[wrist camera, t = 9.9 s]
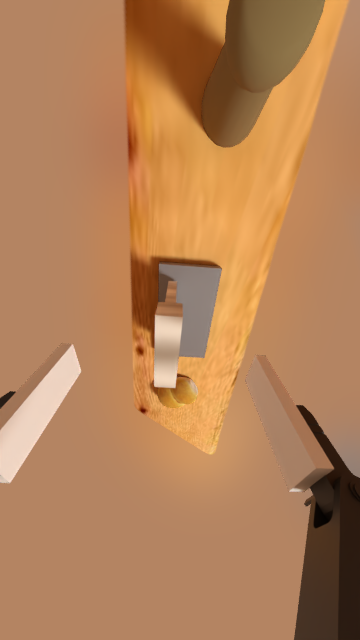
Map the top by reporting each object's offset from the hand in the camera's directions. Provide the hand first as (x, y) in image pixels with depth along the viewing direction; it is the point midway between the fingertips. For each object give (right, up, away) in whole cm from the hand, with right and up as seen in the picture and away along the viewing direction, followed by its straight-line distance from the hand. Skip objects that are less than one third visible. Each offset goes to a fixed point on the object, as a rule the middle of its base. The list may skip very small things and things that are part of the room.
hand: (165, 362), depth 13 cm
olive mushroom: (+6, +25, +5) cm, 27 cm away
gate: (0, +4, +15) cm, 16 cm away
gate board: (+2, +4, +17) cm, 18 cm away
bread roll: (+1, -12, +27) cm, 30 cm away
